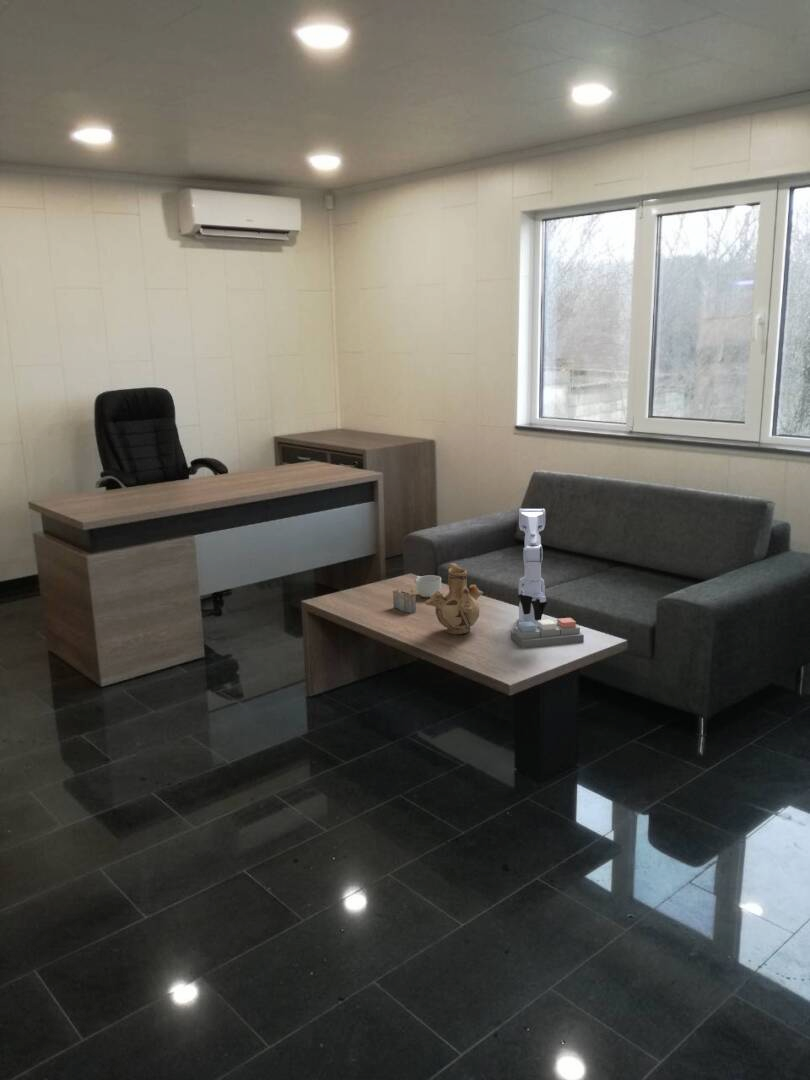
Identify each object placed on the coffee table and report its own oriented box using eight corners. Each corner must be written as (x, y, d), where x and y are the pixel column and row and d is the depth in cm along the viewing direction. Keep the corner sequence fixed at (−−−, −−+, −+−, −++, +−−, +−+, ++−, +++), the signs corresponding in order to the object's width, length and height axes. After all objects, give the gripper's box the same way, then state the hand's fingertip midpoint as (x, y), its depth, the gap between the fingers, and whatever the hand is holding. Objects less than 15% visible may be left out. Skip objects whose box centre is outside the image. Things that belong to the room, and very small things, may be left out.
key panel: (510, 637, 310) (510, 625, 309) (569, 631, 315) (569, 619, 314) (522, 647, 299) (522, 635, 298) (583, 641, 304) (583, 629, 303)
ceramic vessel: (424, 635, 314) (423, 569, 309) (446, 620, 331) (445, 558, 326) (470, 642, 306) (470, 574, 301) (490, 626, 323) (490, 562, 317)
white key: (537, 627, 308) (537, 620, 307) (550, 626, 309) (550, 619, 308) (542, 631, 303) (542, 624, 303) (556, 630, 304) (556, 623, 304)
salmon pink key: (557, 625, 309) (557, 618, 309) (570, 624, 310) (570, 617, 310) (562, 629, 305) (562, 622, 304) (575, 628, 306) (575, 621, 305)
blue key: (517, 629, 306) (517, 622, 306) (531, 627, 307) (531, 621, 307) (522, 633, 301) (522, 626, 301) (536, 632, 302) (536, 625, 302)
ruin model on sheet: (416, 613, 343) (416, 589, 341) (411, 614, 342) (410, 591, 340) (399, 607, 352) (398, 584, 350) (393, 608, 350) (392, 585, 348)
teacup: (446, 597, 364) (446, 579, 362) (424, 601, 358) (424, 582, 357) (429, 590, 375) (429, 572, 374) (408, 593, 370) (407, 575, 369)
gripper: (512, 576, 304) (512, 612, 307) (533, 585, 291) (533, 624, 294) (529, 573, 307) (529, 610, 310) (551, 583, 294) (550, 621, 297)
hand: (532, 616), depth 302 cm, fingers open, 7 cm apart
